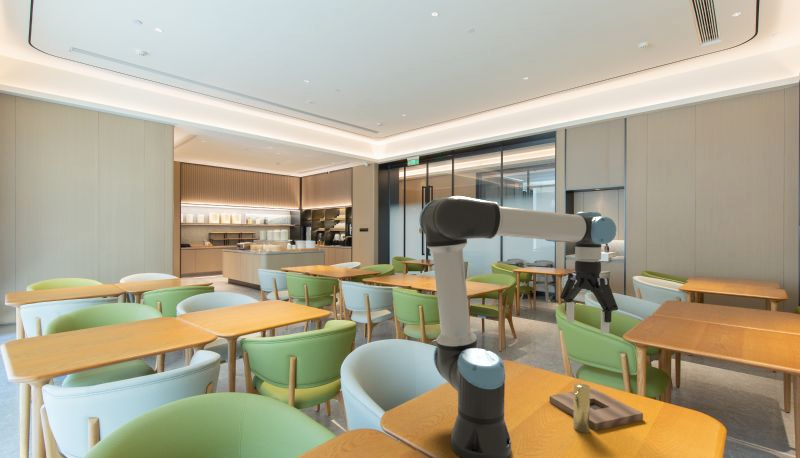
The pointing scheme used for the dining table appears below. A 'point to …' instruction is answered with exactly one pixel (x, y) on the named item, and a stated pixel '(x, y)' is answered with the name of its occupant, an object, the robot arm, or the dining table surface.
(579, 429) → the pin
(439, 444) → the dining table surface
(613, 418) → the board
